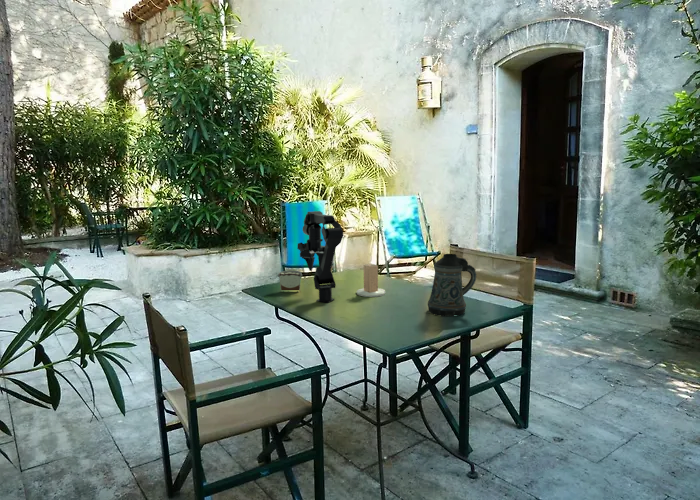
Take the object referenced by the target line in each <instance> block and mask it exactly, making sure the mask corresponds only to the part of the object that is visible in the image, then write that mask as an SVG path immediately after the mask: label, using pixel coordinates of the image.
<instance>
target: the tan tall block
mask: <svg viewBox="0 0 700 500" xmlns="http://www.w3.org/2000/svg"><path fill="white" fill-rule="evenodd" d="M378 267H379V266H378V265H377V264H374V263H369V264H363V288H364V291H366V292H369V293H371V292H377V291H378V288H379V270H378Z"/></svg>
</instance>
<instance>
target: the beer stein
mask: <svg viewBox="0 0 700 500" xmlns="http://www.w3.org/2000/svg"><path fill="white" fill-rule="evenodd" d="M433 267H434V268H433V269H434V276H433V282H432V283H433V284H432V289H431V292H430V296H429V299H428V301H427V308H428V312H429V314H432V315H434V314H435V316H438V315H441V316H440V317H455V316H454V315H459V316H461V315H460V314H462V315H464V314H465V313H466V308H467V303H466V300H465V298H464V297H465V296H464V295H465V294H467V293H468V292H469V291H470V290H471V289H472V288H473V287H474V285H475V283H476V280H477V272H476V268H475V267H474V266H472V265H471V264H469V262H468V260H467V259H466V258H463V257H458V255H457V254H456V253H444V254H443V256H442V257H441V258H440V259H438V260H437V261H436V262H435V263H434V264H433ZM462 272H463V273H464V272H465V273H466V272H468V273H469V274H470V279H469V281H468V283H466V285H464V287H463V281H462V280H463V279H462ZM464 312H465V313H464ZM463 313H464V314H463Z"/></svg>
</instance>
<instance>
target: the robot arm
mask: <svg viewBox="0 0 700 500" xmlns="http://www.w3.org/2000/svg"><path fill="white" fill-rule="evenodd" d="M321 224H322V227H321ZM325 225H331V226H332V227H329V228H328V227H327V228H325ZM302 232H303V234H304V235H306V236H308V239H307V240H306V242H304V243H303V242H299V243H297V250H298V251H299V252H300V253H299V257H300V258H301V259H303V260H304V261H305V262H306V265H307V268H308V270H309V271H313V267H314V263H315V259H316V257H315V256H317V259H318V266H317V267H315V272H314V275H313V282H314V289H315V290H318V299H316V302H317V301H318V302H319V303H328V304H329V303H330V302H333V301H335V300H336V299H335V298H333V295H332V294H333V291H332V289H336V286H337V285H336V281H335V279H334V274H333V272H332V271H331V269H332V266H333V261H334V257H335V252H336V248H337V247H338V246H339V245H340V244H341V243H342V240H343V237H344V231H343V228H342V225H341V224H340V222H338V221H337V220H336V218H335V216H334V215H332V214H331V215H329V214H324V213H323V212H322V211H320V210H318V211H317V210H315V211H307V213H306V214H305V218H304V221H303V226H302ZM321 234H322V235H321ZM321 236H322V237H321ZM322 238H323V239H322ZM323 241H324V242H325V243H324V244H325V245H322V242H323ZM315 254H316V255H315Z"/></svg>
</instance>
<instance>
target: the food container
mask: <svg viewBox="0 0 700 500" xmlns="http://www.w3.org/2000/svg"><path fill="white" fill-rule="evenodd" d="M277 277H278V279H279V280H278V281H279V286H280V287H279V288H280V291H281V290H300V291H301V281H302V280H301V279H302V277H303V274H302V272H301V271H299V270H283V271H282V270H281V271H279V272H278V274H277Z"/></svg>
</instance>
